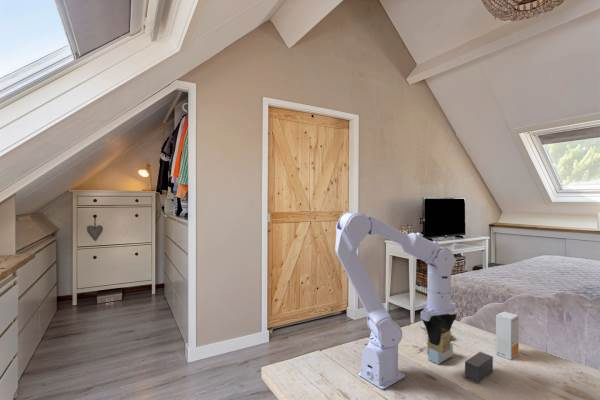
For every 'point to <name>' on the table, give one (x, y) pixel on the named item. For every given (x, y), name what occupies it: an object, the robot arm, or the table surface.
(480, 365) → the grey block
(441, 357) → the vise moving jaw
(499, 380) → the table surface
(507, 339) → the skincare box
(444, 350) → the brass block
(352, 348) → the table surface
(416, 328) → the table surface
